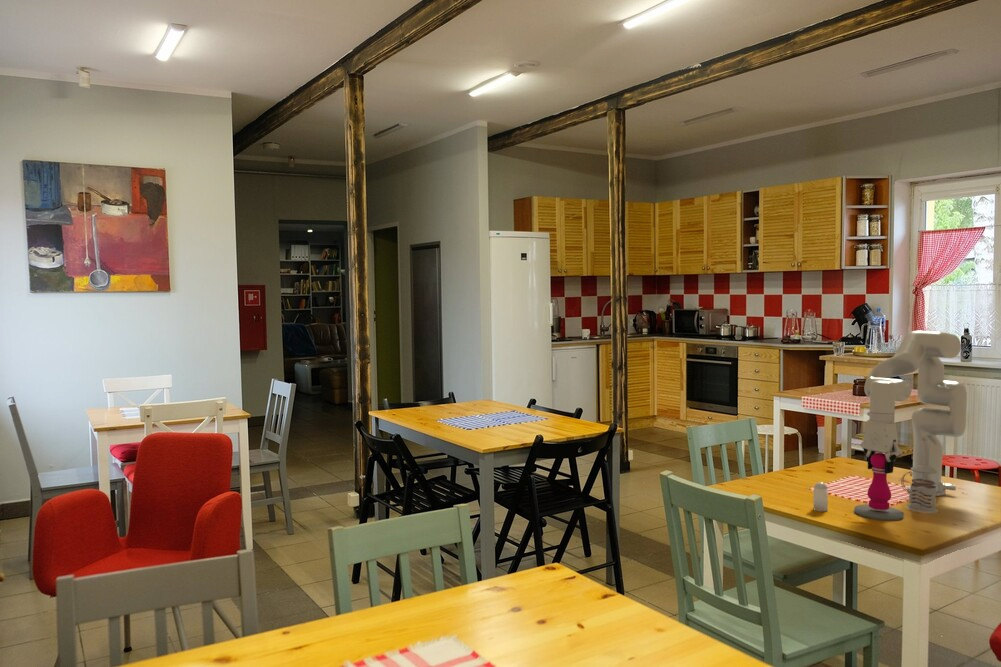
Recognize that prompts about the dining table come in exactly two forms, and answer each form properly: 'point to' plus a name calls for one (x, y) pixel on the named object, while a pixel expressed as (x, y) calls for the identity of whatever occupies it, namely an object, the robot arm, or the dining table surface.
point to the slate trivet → (879, 513)
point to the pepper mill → (879, 483)
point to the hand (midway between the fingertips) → (880, 470)
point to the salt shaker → (820, 496)
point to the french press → (922, 489)
